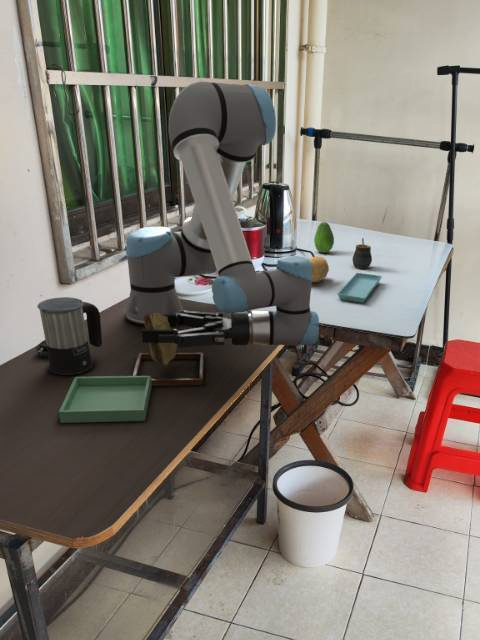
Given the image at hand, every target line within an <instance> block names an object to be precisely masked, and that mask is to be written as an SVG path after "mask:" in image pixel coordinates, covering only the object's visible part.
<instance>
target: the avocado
mask: <svg viewBox="0 0 480 640" xmlns="http://www.w3.org/2000/svg"><path fill="white" fill-rule="evenodd" d="M334 245H335V237H334V233H333V230H332V228H331V225H330V224H329V223H328V222H326V221H325V222H324V221H322V222H320V223H319V224H318V226H317V228H316V231H315V234H314V246H315V249H316V251H318V252H319V253H320V254H326V253H329V252H330V251H331V250H332V249H333V246H334Z"/></svg>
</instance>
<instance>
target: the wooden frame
mask: <svg viewBox="0 0 480 640" xmlns="http://www.w3.org/2000/svg"><path fill="white" fill-rule="evenodd" d="M204 358H205V357H204V352H176V355H175V357H174V358H173V359H172V360H199V375H198V378H195V377H194V378H193V377H192V378H151V382H152V387H159V386H160V387H177V386H203V385H204V360H205V359H204ZM143 360H153V359H152V356H151V352H138V355H137V357H136V361H135V364H134V369H133V373H132V376H139V374H140V373H139V372H140V369H141V365H142V361H143Z"/></svg>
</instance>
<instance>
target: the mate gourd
mask: <svg viewBox="0 0 480 640" xmlns="http://www.w3.org/2000/svg"><path fill="white" fill-rule="evenodd" d="M361 243H362V244H356V245H355V250H354V253H353V255H352V258H351V259H352V260H351V261H352V265H353V266H354V268H356V269H360V270H366V269H368V268H369V267H370V266H371V264H372V262H373V257H372V252H371V251H372V247H371V245H368V244H365V240H364V237H363V238H362V237H361Z"/></svg>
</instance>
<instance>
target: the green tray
mask: <svg viewBox="0 0 480 640" xmlns="http://www.w3.org/2000/svg"><path fill="white" fill-rule="evenodd" d="M151 379H152V376H151V375H138V376H133V375H114V376H113V375H112V376H109V375H107V376H105V375H103V376H74V378H73V381H72V382H71V385H70V386H69V389H68V391H67V393H66V395H65V398H64V399H63V402H62V404H61V406H60V408H59V410H58V417H59V422H60V423H61V424H68V423H69V424H72V423H73V424H74V423H109V422H110V423H112V422H145V421H146V417H147V413H148V407H149V402H150V398H151V392H152V387H153V386H152V382H151Z"/></svg>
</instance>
